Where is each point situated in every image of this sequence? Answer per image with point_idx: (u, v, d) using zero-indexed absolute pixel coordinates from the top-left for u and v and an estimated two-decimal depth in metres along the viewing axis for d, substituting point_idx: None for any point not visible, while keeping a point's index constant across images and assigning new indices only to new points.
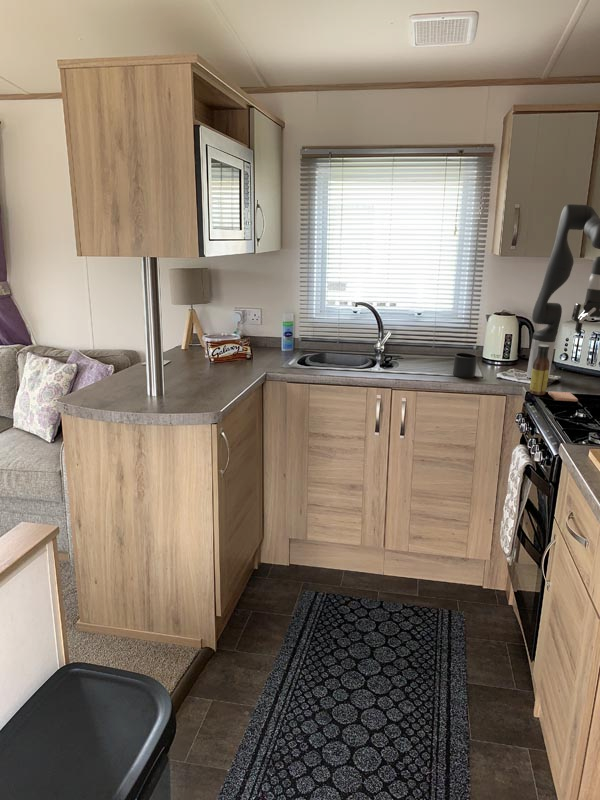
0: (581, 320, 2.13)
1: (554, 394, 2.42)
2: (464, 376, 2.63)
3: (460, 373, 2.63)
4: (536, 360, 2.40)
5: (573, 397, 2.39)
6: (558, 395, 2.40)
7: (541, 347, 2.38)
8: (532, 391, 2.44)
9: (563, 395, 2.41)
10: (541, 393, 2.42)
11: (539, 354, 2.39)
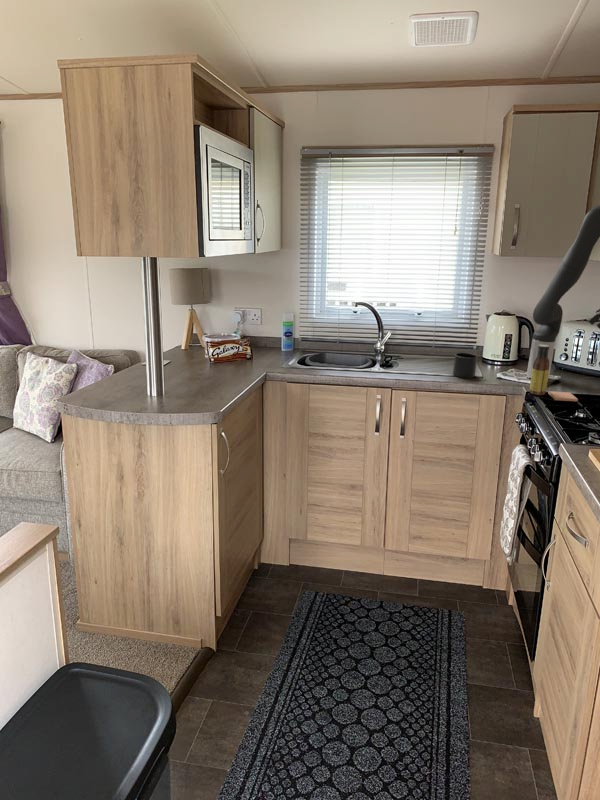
0: None
1: (554, 394, 2.42)
2: (464, 376, 2.63)
3: (460, 373, 2.63)
4: (536, 360, 2.40)
5: (573, 397, 2.39)
6: (558, 395, 2.40)
7: (541, 347, 2.38)
8: (532, 391, 2.44)
9: (563, 395, 2.41)
10: (541, 393, 2.42)
11: (539, 354, 2.39)
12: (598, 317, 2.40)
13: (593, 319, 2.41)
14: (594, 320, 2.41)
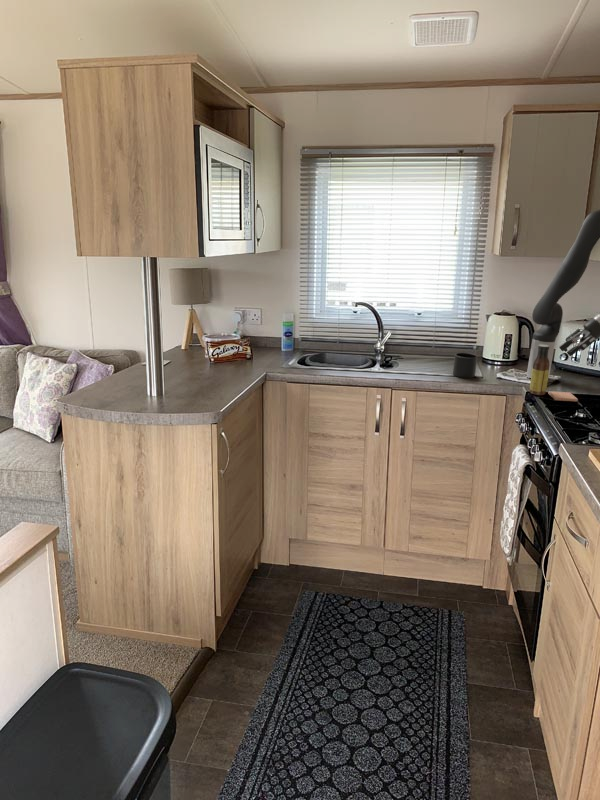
0: None
1: (554, 394, 2.42)
2: (464, 376, 2.63)
3: (460, 373, 2.63)
4: (536, 360, 2.40)
5: (573, 397, 2.39)
6: (558, 395, 2.40)
7: (541, 347, 2.38)
8: (532, 391, 2.44)
9: (563, 395, 2.41)
10: (541, 393, 2.42)
11: (539, 354, 2.39)
12: (568, 344, 2.42)
13: (564, 345, 2.43)
14: (564, 346, 2.43)
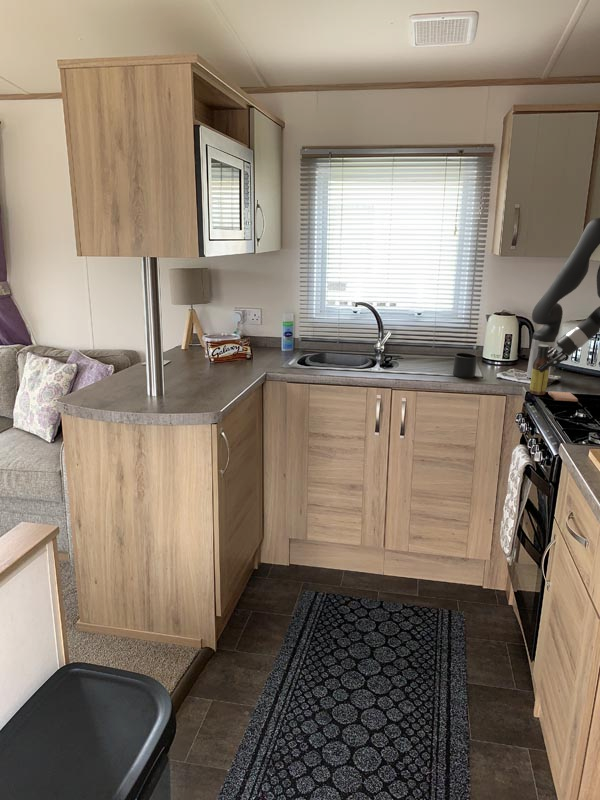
0: None
1: (554, 394, 2.42)
2: (464, 376, 2.63)
3: (460, 373, 2.63)
4: (536, 360, 2.40)
5: (573, 397, 2.39)
6: (558, 395, 2.40)
7: (541, 347, 2.38)
8: (532, 391, 2.44)
9: (563, 395, 2.41)
10: (541, 393, 2.42)
11: (539, 354, 2.39)
12: None
13: None
14: None
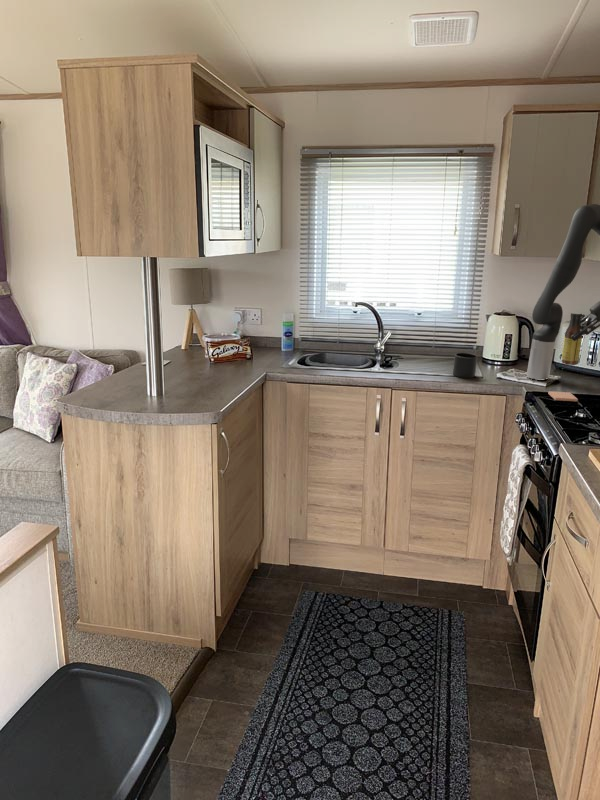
0: None
1: (554, 394, 2.42)
2: (464, 376, 2.63)
3: (460, 373, 2.63)
4: (569, 328, 2.32)
5: (573, 397, 2.39)
6: (558, 395, 2.40)
7: (574, 314, 2.30)
8: (564, 361, 2.36)
9: (563, 395, 2.41)
10: (574, 363, 2.34)
11: (572, 322, 2.31)
12: None
13: None
14: None
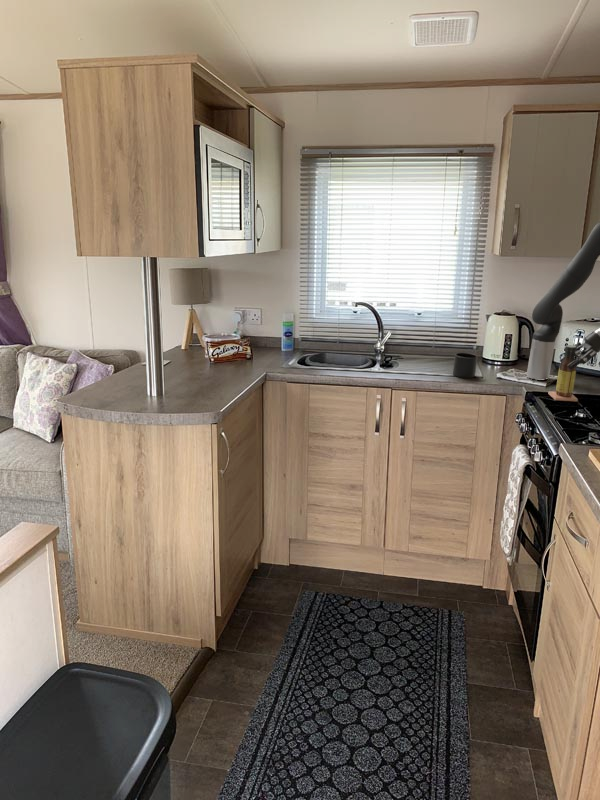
0: None
1: (554, 394, 2.42)
2: (464, 376, 2.63)
3: (460, 373, 2.63)
4: (563, 361, 2.36)
5: (573, 397, 2.39)
6: (558, 395, 2.40)
7: (568, 348, 2.34)
8: (559, 392, 2.40)
9: None
10: (568, 394, 2.38)
11: (566, 355, 2.36)
12: None
13: None
14: None
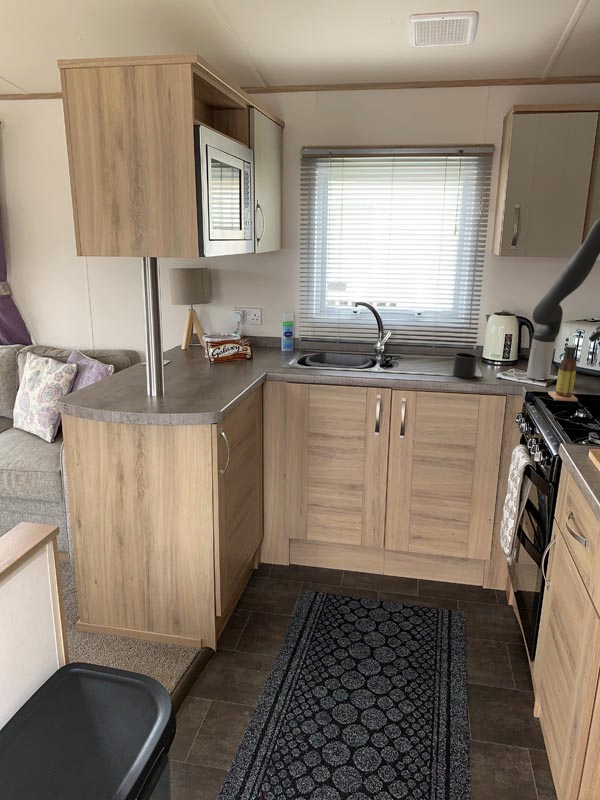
0: None
1: (554, 394, 2.42)
2: (464, 376, 2.63)
3: (460, 373, 2.63)
4: (563, 361, 2.36)
5: (573, 397, 2.39)
6: (558, 395, 2.40)
7: (568, 348, 2.34)
8: (559, 392, 2.40)
9: None
10: (568, 394, 2.38)
11: (566, 355, 2.36)
12: (598, 334, 2.37)
13: (593, 336, 2.37)
14: (594, 337, 2.37)
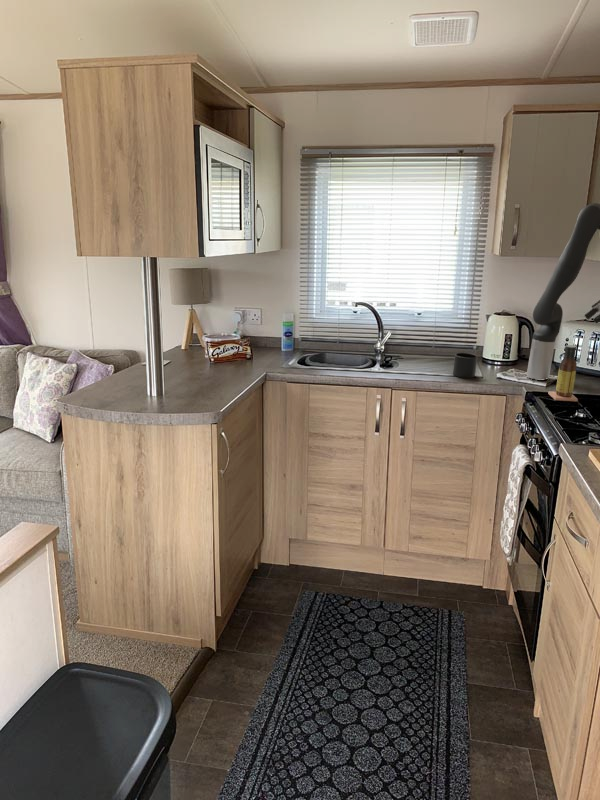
0: None
1: (554, 394, 2.42)
2: (464, 376, 2.63)
3: (460, 373, 2.63)
4: (563, 361, 2.36)
5: (573, 397, 2.39)
6: (558, 395, 2.40)
7: (568, 348, 2.34)
8: (559, 392, 2.40)
9: None
10: (568, 394, 2.38)
11: (566, 355, 2.36)
12: (594, 311, 2.40)
13: (589, 313, 2.40)
14: (590, 314, 2.40)
